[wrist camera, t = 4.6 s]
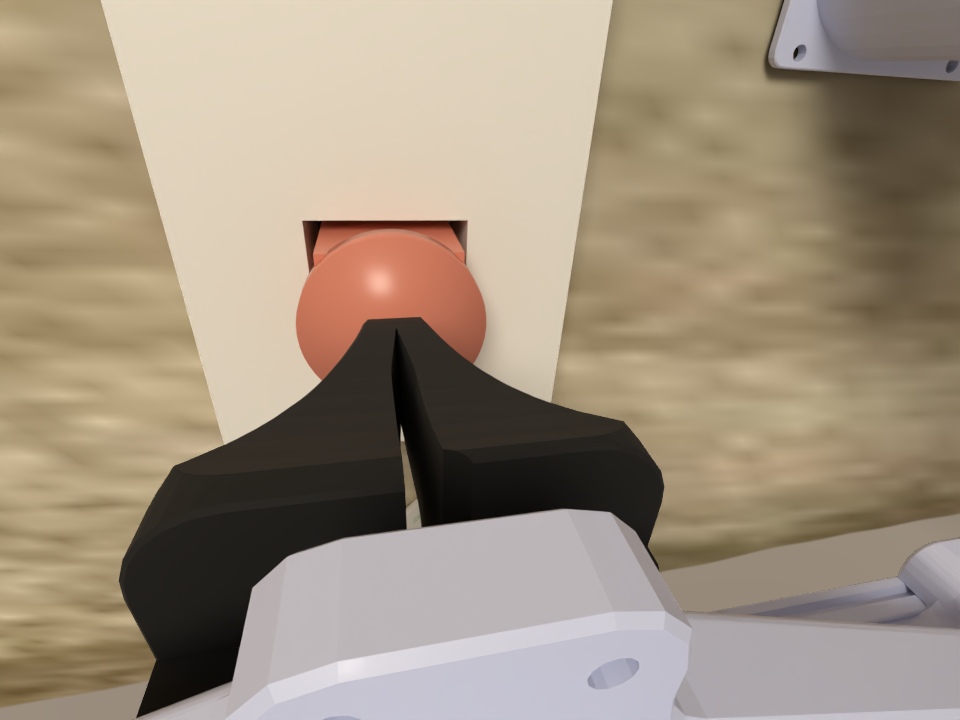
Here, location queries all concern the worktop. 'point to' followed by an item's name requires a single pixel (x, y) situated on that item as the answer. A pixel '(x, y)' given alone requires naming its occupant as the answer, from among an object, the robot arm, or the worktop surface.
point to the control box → (360, 161)
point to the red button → (386, 286)
